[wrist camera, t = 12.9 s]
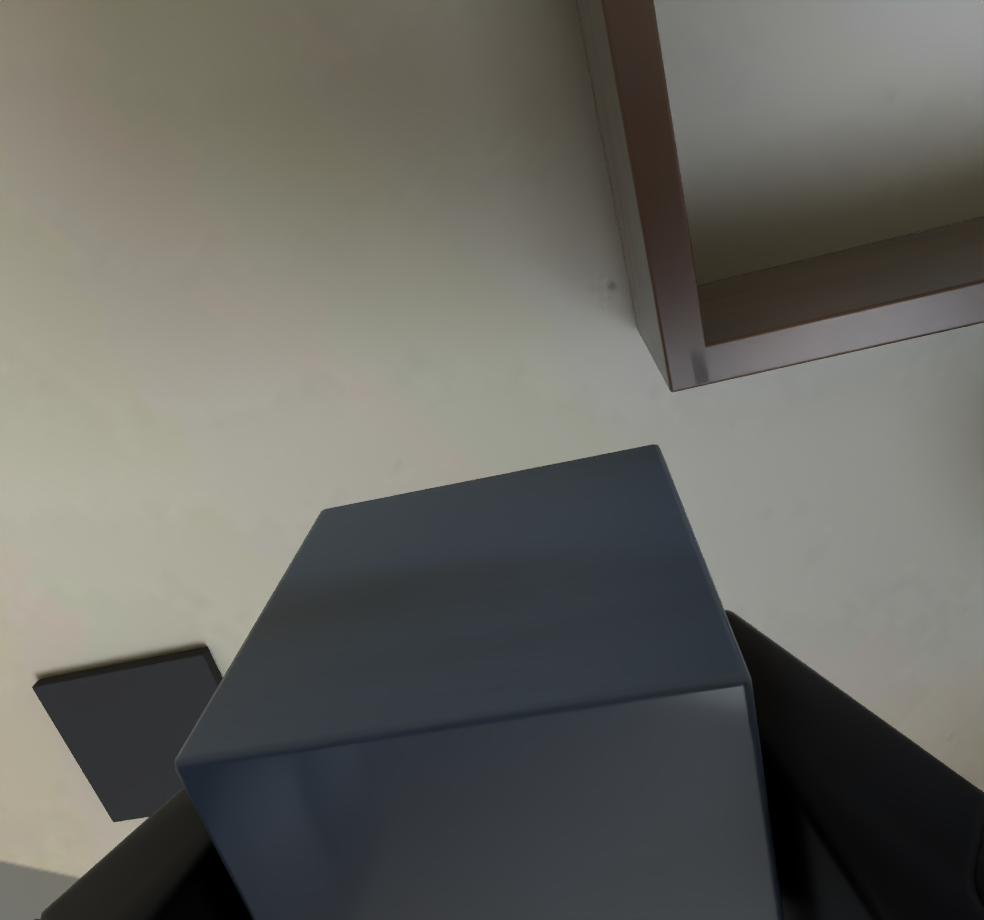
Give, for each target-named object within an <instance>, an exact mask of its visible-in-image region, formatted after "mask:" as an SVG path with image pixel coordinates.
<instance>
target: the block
mask: <svg viewBox="0 0 984 920" xmlns="http://www.w3.org/2000/svg"><path fill="white" fill-rule="evenodd" d="M174 766H175V771H176V773H177V775H178V777H179V779H180V781H181V782H182V784H183V786H184V788H185V790H186V792H187V794H188V796H189V798H190V800H191V802H192V804H193V806H194V808H195V809H196V811H197V813H198V815H199V817H200V819H201V821H202V823H203V825H204V827H205V829H206V831H207V833H208V835H209V836H210V838H211V840H212V842H213V844H214V846H215V848H216V850H217V852H218V854H219V856H220V858H221V860H222V862H223V863H224V865H225V867H226V869H227V871H228V873H229V875H230V877H231V879H232V881H233V883H234V885H235V887H236V889H237V890H238V892H239V894H240V896H241V898H242V900H243V902H244V904H245V906H246V908H247V910H248V912H249V914H250V916H251V917H252V919H253V920H784V914H783V907H782V899H781V892H780V885H779V877H778V870H777V863H776V855H775V848H774V840H773V833H772V826H771V818H770V811H769V804H768V796H767V789H766V782H765V774H764V767H763V760H762V752H761V745H760V738H759V730H758V723H757V716H756V708H755V701H754V694H753V686H752V679H751V676H750V673H749V671H748V668H747V666H746V663H745V661H744V658H743V656H742V653H741V651H740V648H739V646H738V643H737V640H736V638H735V635H734V633H733V630H732V628H731V625H730V623H729V620H728V618H727V615H726V613H725V610H724V608H723V605H722V603H721V600H720V598H719V595H718V593H717V590H716V588H715V585H714V583H713V580H712V578H711V575H710V573H709V570H708V568H707V565H706V563H705V560H704V558H703V555H702V552H701V550H700V547H699V545H698V542H697V540H696V537H695V535H694V532H693V530H692V527H691V525H690V522H689V520H688V517H687V515H686V512H685V510H684V507H683V505H682V502H681V500H680V497H679V495H678V492H677V490H676V487H675V485H674V482H673V480H672V477H671V475H670V472H669V470H668V467H667V464H666V462H665V459H664V457H663V454H662V452H661V449H660V448H659V446H658V445H648V446H643V447H638V448H633V449H628V450H623V451H618V452H613V453H607V454H602V455H597V456H592V457H587V458H582V459H577V460H572V461H567V462H562V463H557V464H552V465H547V466H542V467H537V468H531V469H526V470H521V471H516V472H511V473H506V474H501V475H496V476H491V477H486V478H481V479H476V480H471V481H466V482H461V483H456V484H450V485H445V486H440V487H435V488H430V489H425V490H420V491H415V492H410V493H405V494H400V495H395V496H390V497H385V498H380V499H375V500H369V501H364V502H359V503H354V504H349V505H344V506H339V507H334V508H329V509H324V510H323V511H321V513H320V514H319V516H318V518H317V519H316V521H315V523H314V525H313V526H312V528H311V530H310V531H309V533H308V535H307V536H306V538H305V540H304V541H303V543H302V545H301V547H300V548H299V550H298V552H297V553H296V555H295V557H294V558H293V560H292V562H291V564H290V565H289V567H288V569H287V570H286V572H285V574H284V575H283V577H282V579H281V580H280V582H279V584H278V586H277V587H276V589H275V591H274V592H273V594H272V596H271V597H270V599H269V601H268V602H267V604H266V606H265V608H264V609H263V611H262V613H261V614H260V616H259V618H258V619H257V621H256V623H255V625H254V626H253V628H252V630H251V631H250V633H249V635H248V636H247V638H246V640H245V641H244V643H243V645H242V647H241V648H240V650H239V652H238V653H237V655H236V657H235V658H234V660H233V662H232V664H231V665H230V667H229V669H228V670H227V672H226V674H225V675H224V677H223V679H222V680H221V682H220V684H219V686H218V687H217V689H216V691H215V692H214V694H213V696H212V697H211V699H210V701H209V703H208V704H207V706H206V708H205V709H204V711H203V713H202V714H201V716H200V718H199V719H198V721H197V723H196V725H195V726H194V728H193V730H192V731H191V733H190V735H189V736H188V738H187V740H186V742H185V743H184V745H183V747H182V748H181V750H180V752H179V753H178V755H177V757H176V758H175V763H174Z"/></svg>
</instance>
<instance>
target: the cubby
mask: <svg viewBox="0 0 984 920" xmlns="http://www.w3.org/2000/svg"><path fill="white" fill-rule="evenodd" d="M576 3H577V9H578V14H579V19H580V25H581V30H582V35H583V41H584V46H585V51H586V57H587V62H588V67H589V72H590V78H591V83H592V88H593V94H594V99H595V104H596V110H597V115H598V120H599V126H600V131H601V136H602V142H603V147H604V152H605V157H606V163H607V168H608V173H609V179H610V184H611V189H612V195H613V200H614V205H615V211H616V216H617V221H618V226H619V232H620V237H621V242H622V248H623V253H624V258H625V264H626V269H627V274H628V280H629V285H630V290H631V296H632V301H633V306H634V311H635V317H636V322H637V327H638V331H639V333H640V335H641V337H642V339H643V341H644V343H645V344H646V346H647V348H648V350H649V352H650V354H651V356H652V357H653V359H654V361H655V363H656V365H657V367H658V369H659V371H660V372H661V374H662V376H663V378H664V380H665V382H666V384H667V385H668V387H669V389H670V391H671V392H676V391H681V390H685V389H690V388H694V387H699V386H703V385H707V384H712V383H716V382H720V381H725V380H729V379H734V378H738V377H743V376H747V375H752V374H756V373H761V372H765V371H770V370H774V369H779V368H783V367H787V366H792V365H796V364H801V363H805V362H810V361H814V360H819V359H823V358H828V357H832V356H837V355H841V354H845V353H850V352H854V351H859V350H863V349H868V348H872V347H877V346H881V345H886V344H890V343H895V342H899V341H903V340H908V339H912V338H917V337H921V336H926V335H930V334H935V333H939V332H944V331H948V330H953V329H957V328H961V327H966V326H970V325H975V324H979V323H984V216H983V217H979V218H975V219H971V220H967V221H963V222H959V223H955V224H951V225H947V226H942V227H938V228H934V229H930V230H926V231H922V232H918V233H914V234H910V235H906V236H901V237H897V238H893V239H889V240H885V241H881V242H877V243H873V244H869V245H864V246H860V247H856V248H852V249H848V250H844V251H840V252H836V253H832V254H828V255H823V256H819V257H815V258H811V259H807V260H803V261H799V262H795V263H791V264H787V265H782V266H778V267H774V268H770V269H766V270H762V271H758V272H754V273H750V274H745V275H741V276H737V277H733V278H729V279H725V280H721V281H717V282H713V283H709V284H704V285H700V286H698V285H697V279H696V272H695V266H694V259H693V253H692V246H691V240H690V233H689V227H688V220H687V214H686V207H685V201H684V195H683V188H682V182H681V175H680V169H679V162H678V156H677V149H676V143H675V136H674V130H673V123H672V117H671V111H670V104H669V98H668V91H667V85H666V78H665V72H664V65H663V59H662V52H661V46H660V39H659V33H658V27H657V20H656V14H655V7H654V1H653V0H576Z"/></svg>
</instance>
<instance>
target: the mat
mask: <svg viewBox="0 0 984 920" xmlns="http://www.w3.org/2000/svg"><path fill="white" fill-rule="evenodd" d="M221 680H222V677H221V675H220V673H219V671H218V669H217V667H216V665H215V663H214V661H213V659H212V657H211V654H210V652H209V650H208V648H201V649H196V650H191V651H186V652H180V653H175V654H170V655H165V656H160V657H154V658H149V659H144V660H139V661H133V662H128V663H123V664H118V665H113V666H107V667H102V668H97V669H92V670H86V671H81V672H76V673H71V674H66V675H60V676H55V677H50V678H45V679H40V680H38V681H37V682H36V683H35V685H34V686H33V687H32V688H33V690H34V691H35V693H36V695H37V696H38V698H39V700H40V701H41V703H42V705H43V706H44V708H45V710H46V711H47V713H48V715H49V716H50V718H51V720H52V721H53V723H54V725H55V726H56V728H57V730H58V731H59V733H60V734H61V736H62V738H63V739H64V741H65V743H66V744H67V746H68V748H69V749H70V751H71V753H72V754H73V756H74V758H75V759H76V761H77V763H78V764H79V766H80V768H81V769H82V771H83V773H84V774H85V776H86V778H87V779H88V781H89V783H90V784H91V786H92V788H93V789H94V791H95V792H96V794H97V796H98V797H99V799H100V801H101V802H102V804H103V806H104V807H105V809H106V811H107V812H108V814H109V816H110V817H111V819H112V821H113V822H118V821H124V820H131V819H137V818H143V817H150V816H151V815H152V814H153V813H155V812H156V811H157V810H158V809H159V808H160V807H161V806H162V805H164V804H165V803H166V802H167V801H168V800H169V799H170V798H171V797H173V796H174V795H175V794H176V793H177V792H178V791H179V790H180V789H182V788H183V787H184V786H183V784H182V782H181V781H180V779H179V777H178V775H177V773H176V771H175V766H174V763H175V758H176V757H177V755H178V753H179V752H180V750H181V748H182V747H183V745H184V743H185V742H186V740H187V738H188V736H189V735H190V733H191V731H192V730H193V728H194V726H195V725H196V723H197V721H198V719H199V718H200V716H201V714H202V713H203V711H204V709H205V708H206V706H207V704H208V703H209V701H210V699H211V697H212V696H213V694H214V692H215V691H216V689H217V687H218V686H219V684H220V682H221Z"/></svg>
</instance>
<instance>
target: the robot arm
mask: <svg viewBox="0 0 984 920" xmlns="http://www.w3.org/2000/svg"><path fill="white" fill-rule="evenodd" d="M725 613H726V615H727V618H728V620H729V623H730V625H731V628H732V630H733V633H734V635H735V638H736V640H737V643H738V646H739V648H740V651H741V653H742V656H743V658H744V661H745V663H746V666H747V668H748V671H749V673H750V676H751V679H752V686H753V694H754V701H755V708H756V716H757V723H758V730H759V738H760V745H761V752H762V760H763V767H764V774H765V782H766V789H767V796H768V804H769V811H770V818H771V826H772V833H773V840H774V848H775V855H776V863H777V870H778V877H779V885H780V892H781V899H782V907H783V914H784V920H984V792H982V791H981V790H980V789H978V788H977V787H976V786H974V785H973V784H971V783H970V782H969V781H967V780H966V779H964V778H963V777H962V776H960V775H959V774H957V773H956V772H955V771H953V770H952V769H950V768H949V767H948V766H946V765H945V764H943V763H942V762H941V761H939V760H938V759H937V758H935V757H934V756H932V755H931V754H930V753H928V752H927V751H925V750H924V749H923V748H921V747H920V746H918V745H917V744H916V743H914V742H913V741H911V740H910V739H909V738H907V737H906V736H905V735H903V734H902V733H900V732H899V731H898V730H896V729H895V728H893V727H892V726H891V725H889V724H888V723H886V722H885V721H884V720H882V719H881V718H879V717H878V716H877V715H875V714H874V713H873V712H871V711H870V710H868V709H867V708H866V707H864V706H863V705H861V704H860V703H859V702H857V701H856V700H854V699H853V698H852V697H850V696H849V695H847V694H846V693H845V692H843V691H842V690H841V689H839V688H838V687H836V686H835V685H834V684H832V683H831V682H829V681H828V680H827V679H825V678H824V677H822V676H821V675H820V674H818V673H817V672H815V671H814V670H813V669H811V668H810V667H809V666H807V665H806V664H804V663H803V662H802V661H800V660H799V659H797V658H796V657H795V656H793V655H792V654H790V653H789V652H788V651H786V650H785V649H783V648H782V647H781V646H779V645H778V644H777V643H775V642H774V641H772V640H771V639H770V638H768V637H767V636H765V635H764V634H763V633H761V632H760V631H758V630H757V629H756V628H754V627H753V626H751V625H750V624H749V623H747V622H746V621H745V620H743V619H742V618H740V617H739V616H738V615H736V614H735V613H733V612H732V611H729V610H725ZM34 920H40V919H34ZM41 920H253V919H252V917H251V916H250V914H249V912H248V910H247V908H246V906H245V904H244V902H243V900H242V898H241V896H240V894H239V892H238V890H237V889H236V887H235V885H234V883H233V881H232V879H231V877H230V875H229V873H228V871H227V869H226V867H225V865H224V863H223V862H222V860H221V858H220V856H219V854H218V852H217V850H216V848H215V846H214V844H213V842H212V840H211V838H210V836H209V835H208V833H207V831H206V829H205V827H204V825H203V823H202V821H201V819H200V817H199V815H198V813H197V811H196V809H195V808H194V806H193V804H192V802H191V800H190V798H189V796H188V794H187V792H186V790H185V788H184V787H183V788H182V789H180V790H179V791H178V792H177V793H176V794H175V795H174V796H173V797H171V798H170V799H169V800H168V801H167V802H166V803H165V804H164V805H162V806H161V807H160V808H159V809H158V810H157V811H156V812H155V813H153V814H152V815H151V816H150V817H149V818H148V819H147V820H146V821H144V822H143V823H142V824H141V825H140V826H139V827H138V828H136V829H135V830H134V831H133V832H132V833H131V834H130V835H129V836H127V837H126V838H125V839H124V840H123V841H122V842H121V843H120V844H118V845H117V846H116V847H115V848H114V849H113V850H112V851H111V852H109V853H108V854H107V855H106V856H105V857H104V858H103V859H102V860H100V861H99V862H98V863H97V864H96V865H95V866H94V867H93V868H91V869H90V870H89V871H88V872H87V873H86V874H85V875H84V876H82V877H81V878H80V879H79V880H78V881H77V882H76V883H75V884H74V885H72V886H71V887H70V888H69V889H68V890H67V891H66V892H64V893H63V894H62V895H61V896H60V897H59V898H58V899H57V900H55V901H54V902H53V903H52V904H51V905H50V906H49V907H48V908H47V909H45V911H43V912H42V915H41Z"/></svg>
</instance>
